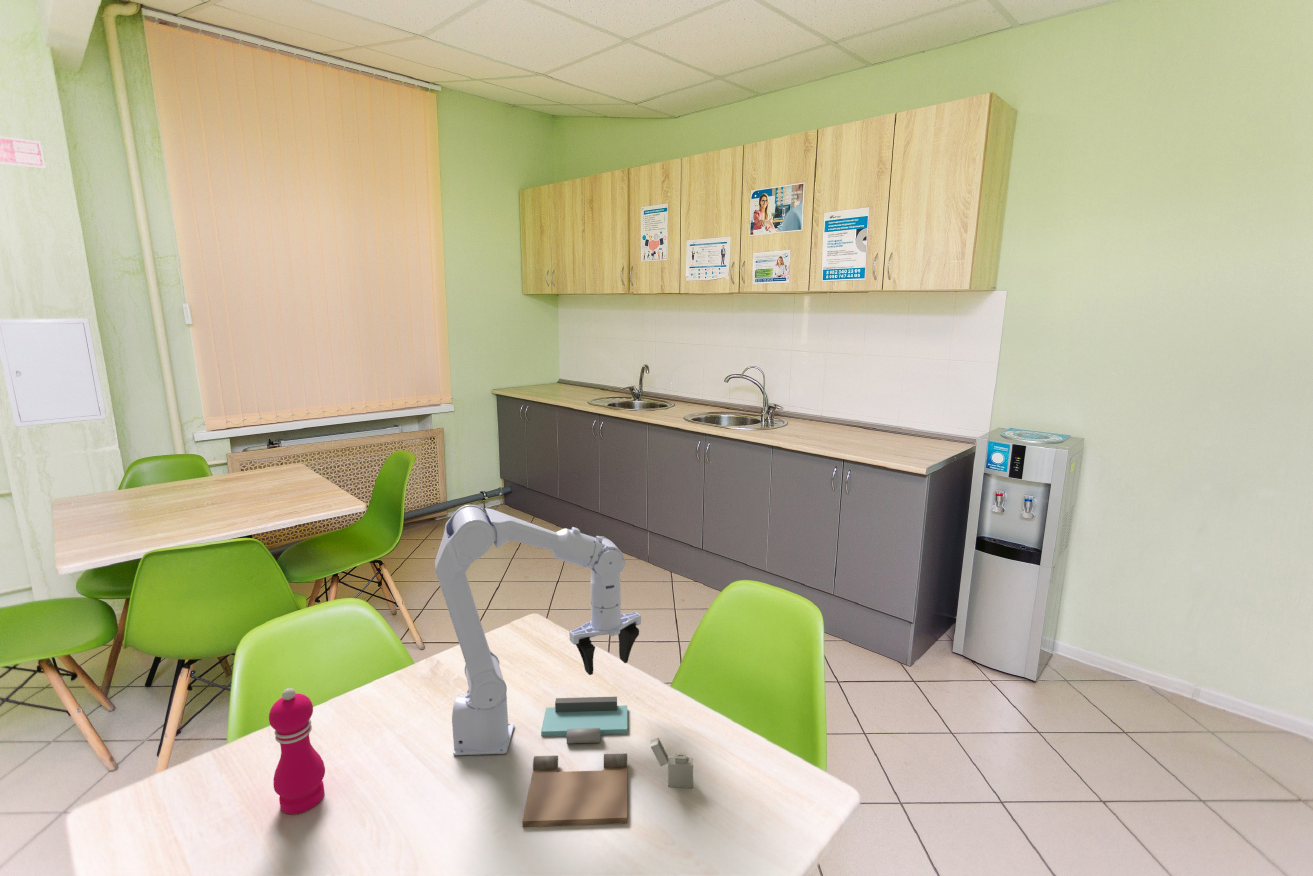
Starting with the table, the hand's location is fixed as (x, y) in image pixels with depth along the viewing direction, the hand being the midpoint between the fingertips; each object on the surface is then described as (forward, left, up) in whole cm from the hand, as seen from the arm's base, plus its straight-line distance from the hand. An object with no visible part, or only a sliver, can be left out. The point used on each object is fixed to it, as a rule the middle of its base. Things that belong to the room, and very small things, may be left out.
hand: (606, 666), depth 121 cm
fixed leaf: (-4, -21, -10) cm, 24 cm away
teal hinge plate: (-4, -5, -10) cm, 12 cm away
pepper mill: (-49, -21, -10) cm, 54 cm away
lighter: (+11, -20, -10) cm, 25 cm away
